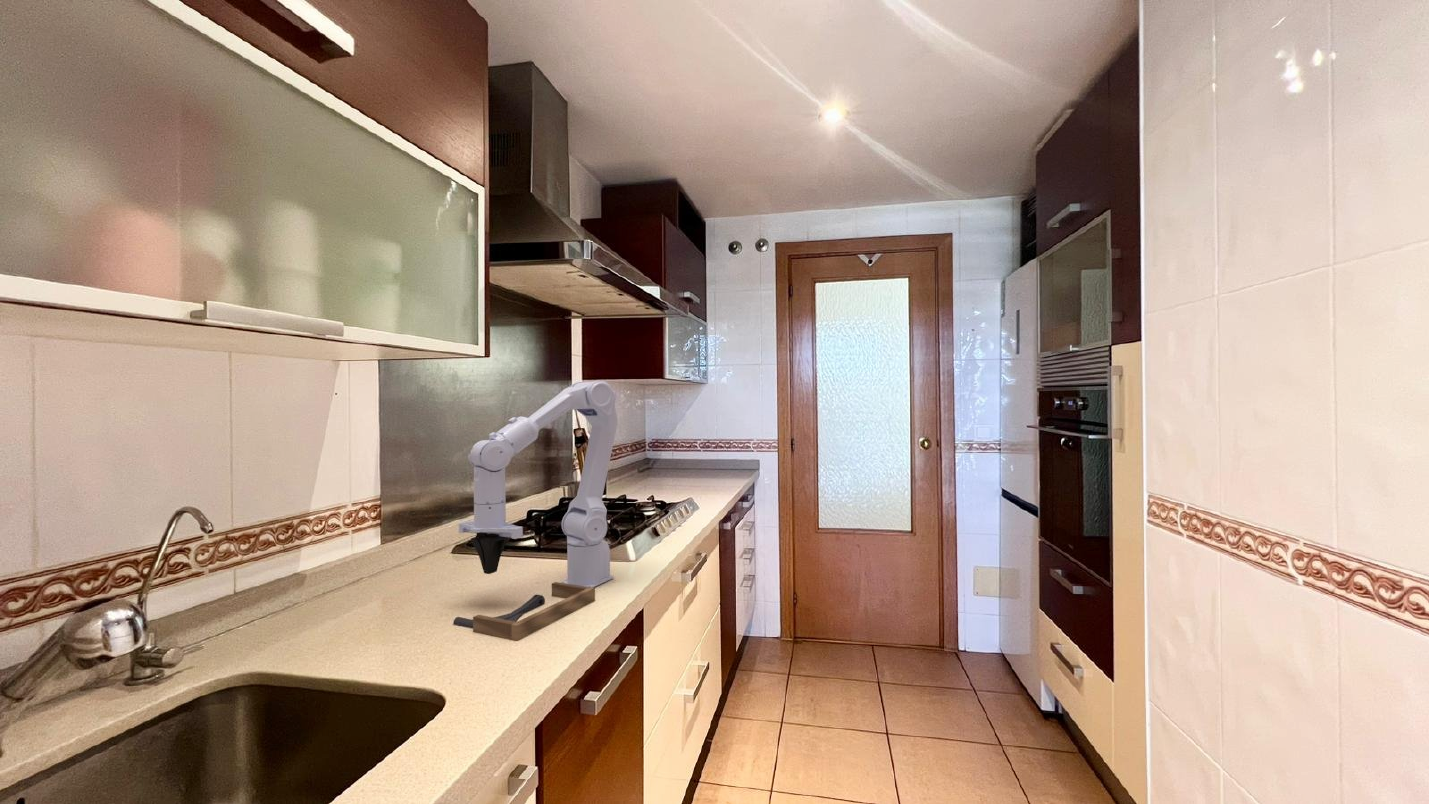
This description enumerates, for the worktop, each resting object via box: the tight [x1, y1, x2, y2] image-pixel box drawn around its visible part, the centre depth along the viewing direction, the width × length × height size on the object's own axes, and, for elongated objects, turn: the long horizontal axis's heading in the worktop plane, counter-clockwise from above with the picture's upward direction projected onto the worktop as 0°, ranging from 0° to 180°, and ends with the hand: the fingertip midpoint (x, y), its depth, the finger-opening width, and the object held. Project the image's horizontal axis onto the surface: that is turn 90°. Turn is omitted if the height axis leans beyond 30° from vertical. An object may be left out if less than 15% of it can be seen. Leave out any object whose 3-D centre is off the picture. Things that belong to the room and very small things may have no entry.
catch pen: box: [472, 581, 596, 642], centre depth 106 cm, size 21×10×2 cm, turn 156°
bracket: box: [452, 594, 546, 630], centre depth 105 cm, size 14×15×3 cm
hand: (490, 572), depth 111 cm, fingers closed
